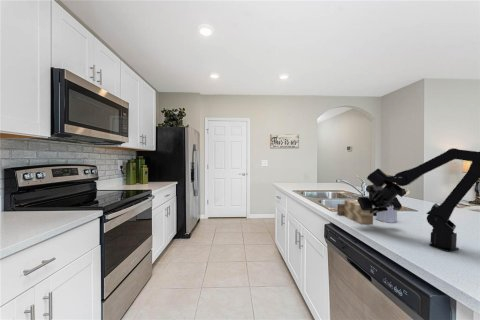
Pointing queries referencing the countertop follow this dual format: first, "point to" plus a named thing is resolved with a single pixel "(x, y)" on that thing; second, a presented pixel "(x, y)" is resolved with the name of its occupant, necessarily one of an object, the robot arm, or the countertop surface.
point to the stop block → (340, 209)
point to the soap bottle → (388, 214)
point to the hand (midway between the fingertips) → (370, 212)
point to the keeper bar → (357, 212)
